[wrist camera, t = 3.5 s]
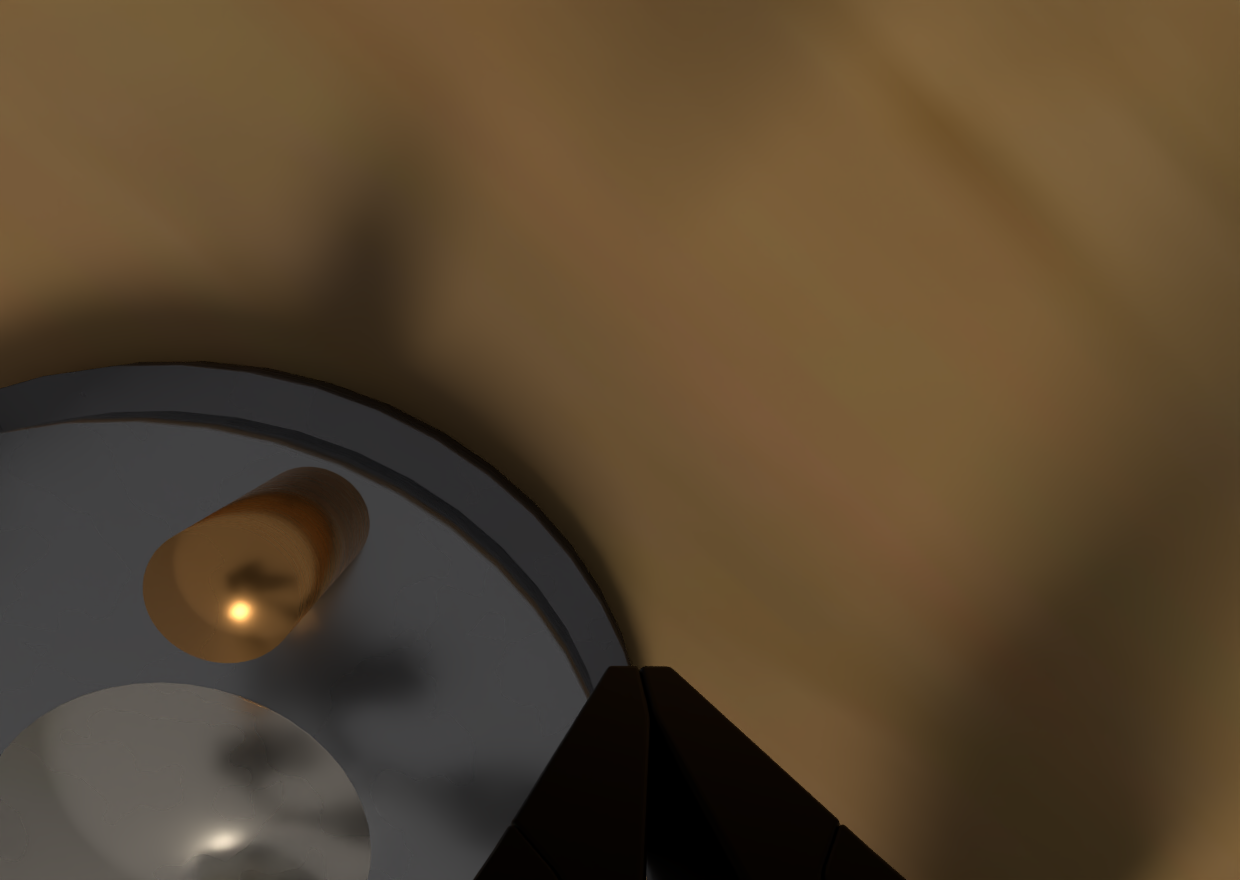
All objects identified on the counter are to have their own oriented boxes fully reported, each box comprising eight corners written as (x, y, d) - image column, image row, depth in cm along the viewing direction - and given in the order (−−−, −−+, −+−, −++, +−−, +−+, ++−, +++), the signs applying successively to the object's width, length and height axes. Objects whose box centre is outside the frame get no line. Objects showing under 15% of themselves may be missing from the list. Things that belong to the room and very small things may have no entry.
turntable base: (462, 226, 15) (454, 221, 14) (739, 937, 20) (747, 968, 19) (-416, 546, 16) (-482, 562, 15) (76, 1162, 21) (51, 1205, 20)
